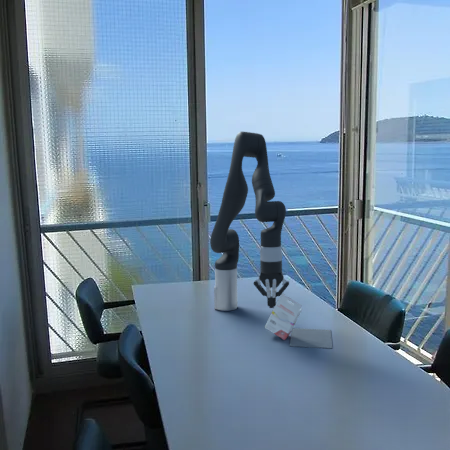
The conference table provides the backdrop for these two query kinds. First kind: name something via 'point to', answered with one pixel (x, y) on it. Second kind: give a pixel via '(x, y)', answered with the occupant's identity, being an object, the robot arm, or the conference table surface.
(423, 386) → the conference table surface
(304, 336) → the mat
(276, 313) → the ink cartridge box
